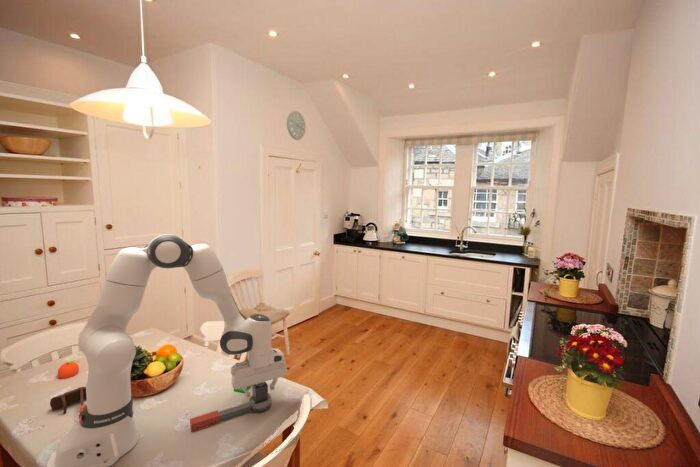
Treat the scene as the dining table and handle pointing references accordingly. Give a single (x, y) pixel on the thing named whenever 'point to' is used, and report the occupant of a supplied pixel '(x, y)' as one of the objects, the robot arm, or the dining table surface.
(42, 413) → the dining table surface
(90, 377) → the robot arm
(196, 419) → the ratchet
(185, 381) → the dining table surface
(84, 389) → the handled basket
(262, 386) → the socket
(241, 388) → the pipe clamp
